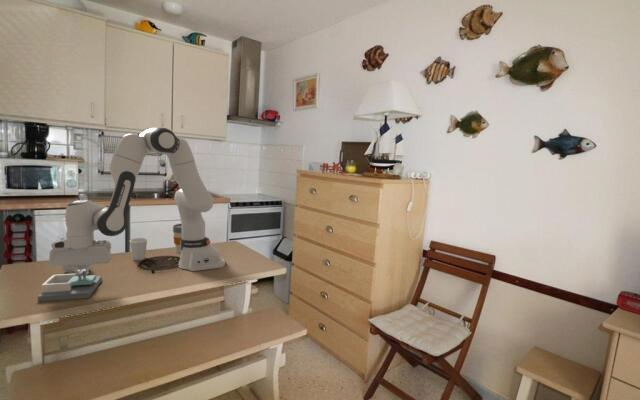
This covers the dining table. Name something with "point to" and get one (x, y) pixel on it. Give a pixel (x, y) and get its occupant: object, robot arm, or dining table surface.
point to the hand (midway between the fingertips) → (82, 274)
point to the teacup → (70, 270)
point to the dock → (65, 288)
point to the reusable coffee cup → (177, 237)
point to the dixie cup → (138, 248)
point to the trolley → (82, 279)
